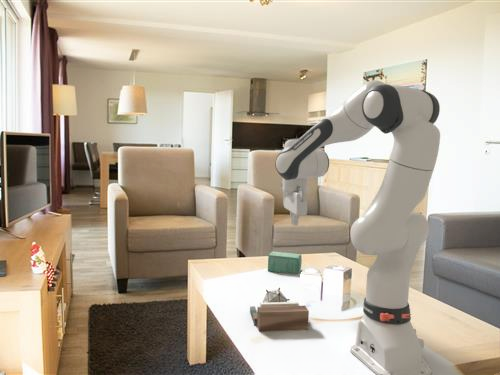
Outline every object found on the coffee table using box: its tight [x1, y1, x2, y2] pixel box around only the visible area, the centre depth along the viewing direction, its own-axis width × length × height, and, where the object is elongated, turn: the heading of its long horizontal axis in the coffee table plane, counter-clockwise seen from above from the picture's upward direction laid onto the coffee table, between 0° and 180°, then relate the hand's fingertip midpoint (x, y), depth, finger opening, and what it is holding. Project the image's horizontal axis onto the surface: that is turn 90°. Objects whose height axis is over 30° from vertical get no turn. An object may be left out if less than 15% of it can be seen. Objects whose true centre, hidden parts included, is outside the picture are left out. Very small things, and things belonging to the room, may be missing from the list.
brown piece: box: [249, 305, 310, 333], centre depth 146 cm, size 15×17×6 cm
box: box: [267, 251, 303, 275], centre depth 200 cm, size 7×14×8 cm, turn 75°
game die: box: [262, 287, 290, 303], centre depth 152 cm, size 9×8×10 cm
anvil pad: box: [259, 301, 300, 307], centre depth 146 cm, size 2×12×5 cm, turn 97°
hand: (294, 224), depth 162 cm, fingers closed
